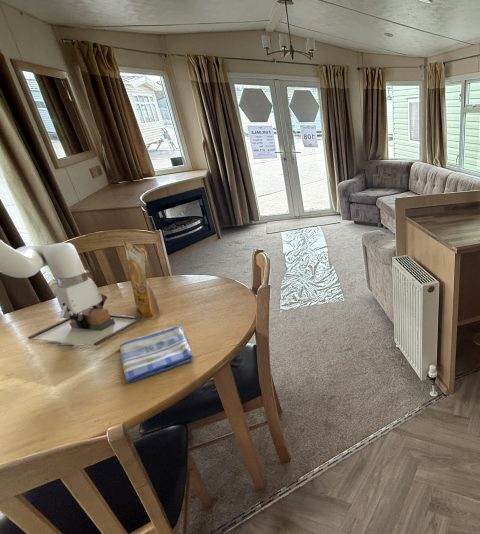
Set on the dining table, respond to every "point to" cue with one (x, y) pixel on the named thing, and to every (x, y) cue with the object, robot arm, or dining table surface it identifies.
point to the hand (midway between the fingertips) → (92, 323)
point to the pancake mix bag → (140, 279)
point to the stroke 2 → (65, 345)
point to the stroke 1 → (54, 343)
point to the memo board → (84, 331)
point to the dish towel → (154, 353)
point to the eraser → (95, 319)
